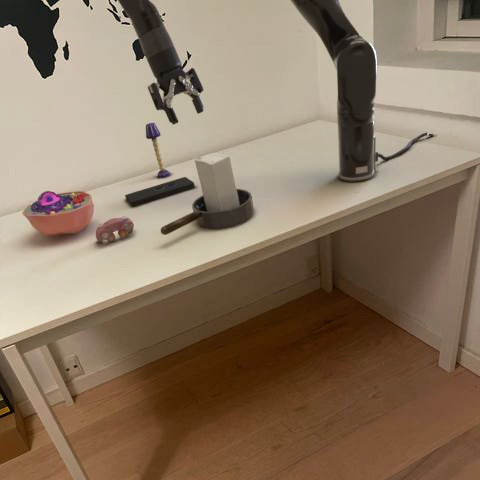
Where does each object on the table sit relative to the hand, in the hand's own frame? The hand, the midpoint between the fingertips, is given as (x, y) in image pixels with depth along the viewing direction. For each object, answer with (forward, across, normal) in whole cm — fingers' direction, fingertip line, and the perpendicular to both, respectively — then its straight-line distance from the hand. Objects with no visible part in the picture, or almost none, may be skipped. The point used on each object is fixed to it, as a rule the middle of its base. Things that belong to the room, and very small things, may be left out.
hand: (188, 118), depth 124 cm
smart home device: (+16, -5, +22) cm, 28 cm away
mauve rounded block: (+19, -30, +7) cm, 37 cm away
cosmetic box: (+25, -8, -8) cm, 27 cm away
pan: (+25, -8, -8) cm, 28 cm away
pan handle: (+22, -20, -9) cm, 31 cm away
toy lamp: (+12, +6, +36) cm, 38 cm away
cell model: (+13, -35, +24) cm, 45 cm away
